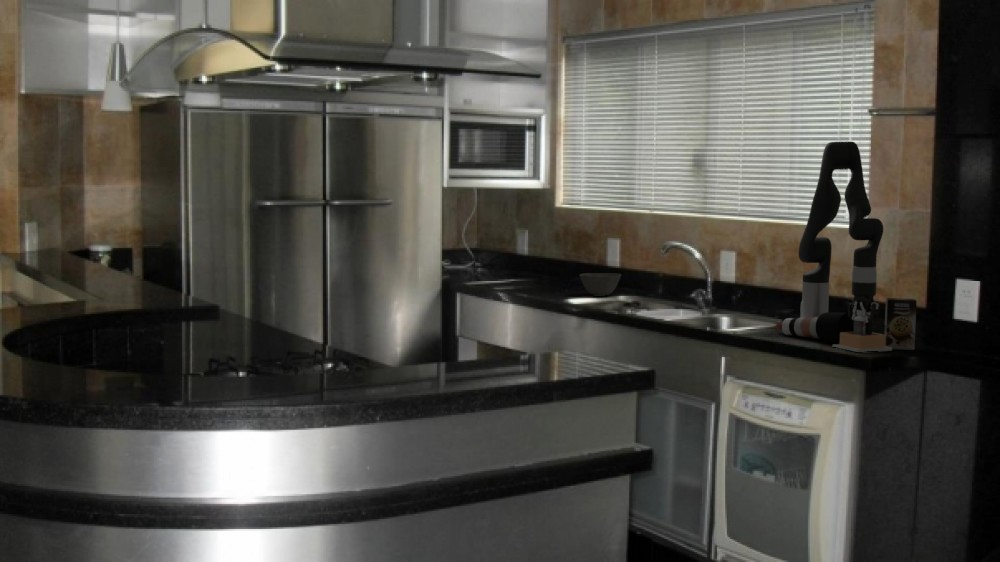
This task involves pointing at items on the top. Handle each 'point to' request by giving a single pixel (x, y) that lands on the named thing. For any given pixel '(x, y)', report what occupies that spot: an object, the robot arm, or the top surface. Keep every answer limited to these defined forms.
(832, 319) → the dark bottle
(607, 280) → the bowl
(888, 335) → the cookie box
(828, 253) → the robot arm
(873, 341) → the end holder
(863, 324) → the pill bottle
